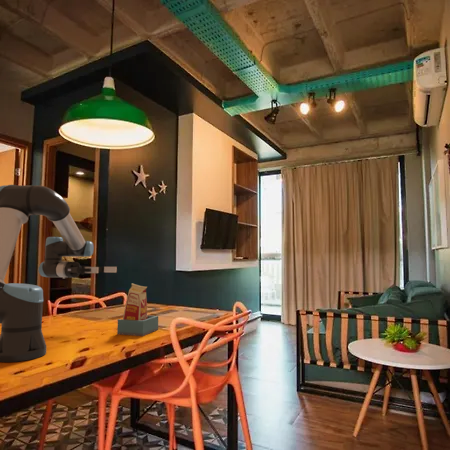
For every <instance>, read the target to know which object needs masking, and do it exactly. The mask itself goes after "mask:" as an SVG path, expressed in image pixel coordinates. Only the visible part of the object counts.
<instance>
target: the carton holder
mask: <svg viewBox="0 0 450 450" xmlns="http://www.w3.org/2000/svg"><path fill="white" fill-rule="evenodd" d="M156 331H159V315H147V319H145V320H142V321H141V320H124V319H123V318H122V319H121V318H120V319H117V331H116V334H117V335H124V336H137V337H138V336H139V337H144V336H146V335H149V334H151V333H154V332H156Z"/></svg>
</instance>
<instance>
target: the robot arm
mask: <svg viewBox="0 0 450 450" xmlns="http://www.w3.org/2000/svg"><path fill="white" fill-rule="evenodd" d="M70 212H71V209H70V205H69V204H68V201H67V200H65V199H64V198H63V197H62V196H61V195H60V194H59V193H57V192H56V191H55V190H53V189H51V188H50V187H47V186H45V185H40V184H39V185H37V184H36V185H28V184H27V185H25V184H24V185H23V184H20V185H16V184H7V185H0V324H1V329H0V331H1V332H0V363H12V362H13V363H15V362H17V363H18V362H24V361H29V360H34V359H38V358H40V357H43V356H45V355H46V354H47V343H46V340H45V337H44V333H43V330H42V328H43V326H42V325H43V324H42V323H43V322H42V321H43V310H44V290H43V288H42V287H41V286H39V285H35V284H31V283H30V284H29V283H19V282H18V283H16V282H13V283H11V282H10V283H6V282H5V279H6V275H7V274H8V273H7V272H8V269H9V266H10V263H11V261H12V257H13V254H14V251H15V247H16V245H17V241H18V237H19V234H20V232H21V229H22V225H25V224H26V223H28V221H29V218H30V216H38V215H39V216H44V217H46V219H47V220H48V221H50V222H52V223H53V224H54V227H55V228H56V229H57V231H58V232H59V234H60V237H59V236H48V237H46V239H45V245H44V260H43V261H42V262H41V263H40V264H39V266H38V269H37V270H38V274H39V275H40V276H41V277H45V278H62V279H66V278H69V279H70V278H71V279H73V278H74V279H75V278H78V277H79V276H80V275H85V274H99V273H115V274H116V273H117V272H118V269H117V267H118V266H107V265H106V264H104V266H91V265H80V263H79V262H78V261H62V260H63V257H67V258H68V257H69V258H70V257H73V258H74V257H75V258H76V257H78V258H80V257H84V258H85V257H91V256H93V254H94V251H95V250H94V246H95V245H94V243H93V241H90V240H86V239H85V238H84V236H83V235H82V232H81V231H80V229H79V228H78V225H77V224H76V222H75V220H74V218H73V217H72V215H71V213H70Z"/></svg>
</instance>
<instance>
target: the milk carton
mask: <svg viewBox="0 0 450 450" xmlns="http://www.w3.org/2000/svg"><path fill="white" fill-rule="evenodd" d="M147 288H148V286H143V285H139V284H135V283H131V286H130V288H129V290H128V294H127V298H126V301H125V306H124V312H123V317H122V319H124V320H141V321H142V320H145V319H147V316H148V303H147V301H148V299H147Z"/></svg>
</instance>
